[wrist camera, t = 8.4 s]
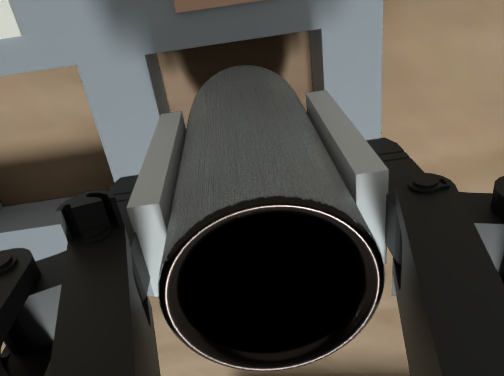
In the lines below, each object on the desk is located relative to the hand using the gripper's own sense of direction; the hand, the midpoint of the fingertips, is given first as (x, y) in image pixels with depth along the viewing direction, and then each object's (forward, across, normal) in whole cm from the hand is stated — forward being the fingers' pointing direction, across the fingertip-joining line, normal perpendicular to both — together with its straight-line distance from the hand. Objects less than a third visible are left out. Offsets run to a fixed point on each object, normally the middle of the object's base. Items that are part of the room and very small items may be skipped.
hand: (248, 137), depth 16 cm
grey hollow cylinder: (+2, 0, 0) cm, 2 cm away
